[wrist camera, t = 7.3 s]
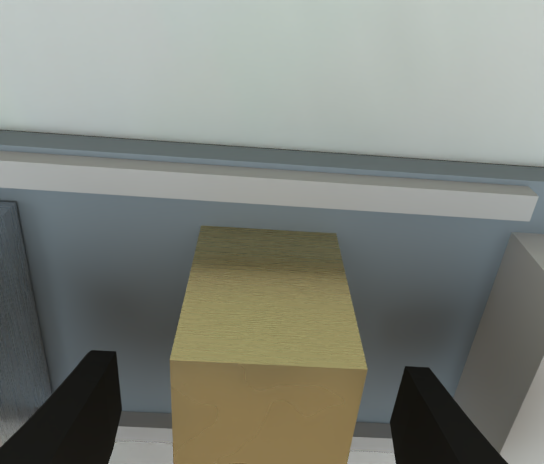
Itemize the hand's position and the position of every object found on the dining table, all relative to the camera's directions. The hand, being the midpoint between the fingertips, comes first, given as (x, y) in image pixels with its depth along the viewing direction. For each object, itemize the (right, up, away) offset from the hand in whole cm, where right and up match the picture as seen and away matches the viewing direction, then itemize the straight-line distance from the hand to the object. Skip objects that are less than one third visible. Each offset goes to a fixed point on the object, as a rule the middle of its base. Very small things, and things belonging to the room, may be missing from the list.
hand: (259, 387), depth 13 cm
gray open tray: (0, +2, +3) cm, 4 cm away
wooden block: (0, +1, +2) cm, 3 cm away
